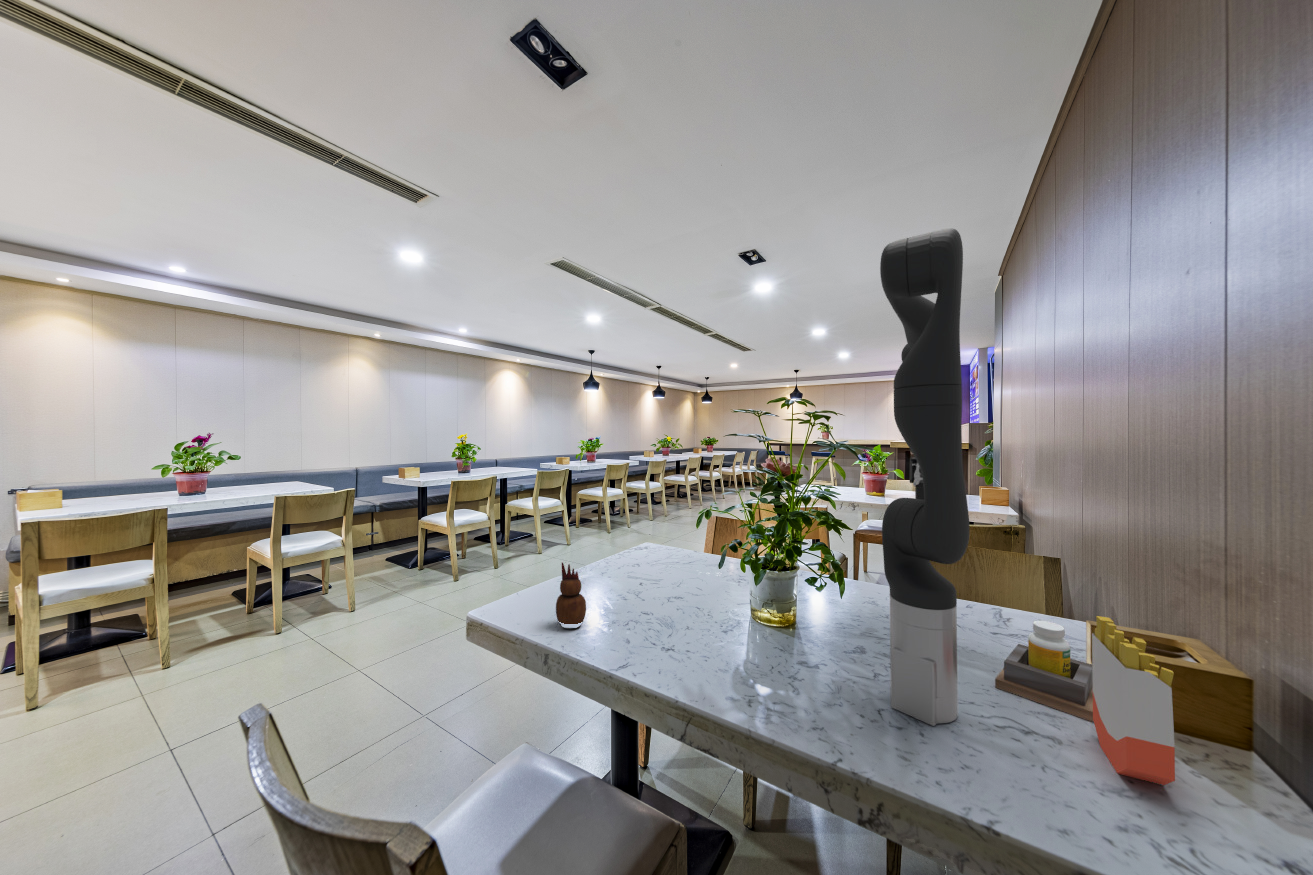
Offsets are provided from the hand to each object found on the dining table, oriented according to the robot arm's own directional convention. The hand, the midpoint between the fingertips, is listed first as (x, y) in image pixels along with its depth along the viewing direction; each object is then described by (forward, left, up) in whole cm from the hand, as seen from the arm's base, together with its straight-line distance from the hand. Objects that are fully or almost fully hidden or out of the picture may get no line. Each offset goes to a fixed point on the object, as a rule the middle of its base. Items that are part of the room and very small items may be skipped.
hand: (931, 506), depth 94 cm
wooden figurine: (-57, +56, -28) cm, 85 cm away
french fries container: (-21, -30, -28) cm, 47 cm away
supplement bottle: (-7, -20, -27) cm, 34 cm away
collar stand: (-7, -20, -28) cm, 35 cm away
